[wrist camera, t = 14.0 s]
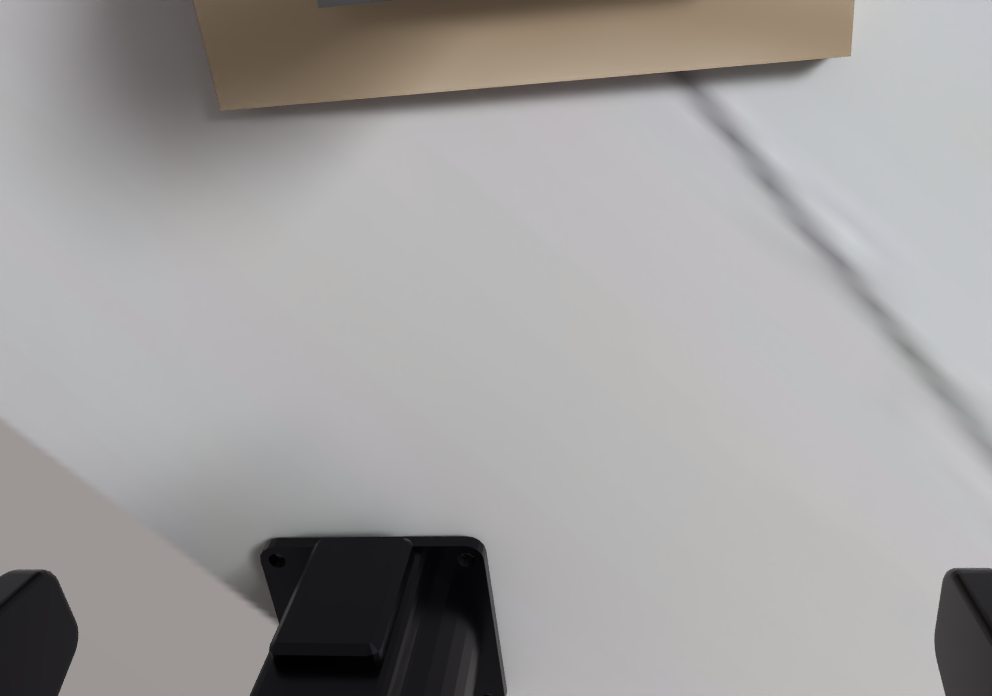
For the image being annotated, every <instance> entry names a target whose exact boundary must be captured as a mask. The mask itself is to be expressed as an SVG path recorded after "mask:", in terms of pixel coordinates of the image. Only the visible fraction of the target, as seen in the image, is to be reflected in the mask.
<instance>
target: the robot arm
mask: <svg viewBox="0 0 992 696" xmlns="http://www.w3.org/2000/svg"><path fill="white" fill-rule="evenodd" d="M462 553H468V554H471V555H472V556H474V557H471V558H469V557H465V556H463V555H462ZM275 554H279V555H281V556H283V557H284V558H279V557H278V556H276V555H275ZM260 557H261V564H262V567H263V570H264V574H265V577H266V580H267V584H268V587H269V590H270V594H271V597H272V601H273V604H274V607H275V611H276V614H277V617H278V621H279V626H278V628H277V630H276V633H275V635H274V637H273V639H272V642H271V644H270V649H269V653H268V656H267V658H266V660H265V662H264V665H263V667H262V669H261V671H260V674H259V676H258V678H257V680H256V683H255V685H254V687H253V689H252V692H251V694H250V696H491V695H493V696H506V693H507V687H506V681H505V674H504V667H503V660H502V654H501V647H500V640H499V634H498V627H497V620H496V613H495V607H494V600H493V593H492V587H491V580H490V573H489V566H488V560H487V553H486V549H485V546H484V545H483V544H482V543H481V542H480V541H479V540H477V539H475V538H473V537H466V536H463V537H338V538H275V539H271V540H270V541H268V542H267V544H266V546H265V548H264V550H263V552H262V554H261V556H260ZM77 642H78V627H77V623H76V621H75V618H74V616H73V614H72V611H71V609H70V607H69V604H68V602H67V600H66V598H65V595H64V593H63V591H62V588H61V586H60V584H59V581H58V580H57V578H56V576H55V575H53V574H52V573H51V572H50V571H47V570H13V571H10V572H8V573H6V574H4V575H2V576H0V696H58V694H59V691H60V689H61V686H62V684H63V681H64V679H65V676H66V674H67V671H68V669H69V666H70V664H71V661H72V658H73V656H74V653H75V651H76V647H77ZM934 643H935V653H936V659H937V663H938V667H939V671H940V675H941V679H942V683H943V687H944V691H945V695H946V696H992V569H990V568H953V569H951V570H949V571H947V572H946V574H945V576H944V578H943V582H942V588H941V594H940V601H939V608H938V614H937V621H936V628H935V638H934ZM487 694H489V695H487Z"/></svg>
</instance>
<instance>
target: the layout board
mask: <svg viewBox="0 0 992 696" xmlns="http://www.w3.org/2000/svg"><path fill="white" fill-rule="evenodd" d="M193 2H194V6H195V10H196V14H197V18H198V22H199V26H200V30H201V34H202V38H203V42H204V46H205V50H206V54H207V58H208V62H209V66H210V70H211V74H212V78H213V82H214V86H215V90H216V94H217V98H218V102H219V106H220V110H221V111H228V110H239V109H250V108H262V107H273V106H285V105H296V104H308V103H319V102H331V101H342V100H354V99H365V98H377V97H388V96H400V95H411V94H422V93H434V92H445V91H457V90H468V89H480V88H491V87H503V86H514V85H526V84H537V83H549V82H560V81H571V80H583V79H594V78H606V77H617V76H629V75H640V74H652V73H663V72H675V71H686V70H698V69H709V68H720V67H732V66H743V65H755V64H766V63H778V62H789V61H801V60H812V59H824V58H835V57H847V56H851V45H852V30H853V15H854V0H193Z"/></svg>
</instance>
